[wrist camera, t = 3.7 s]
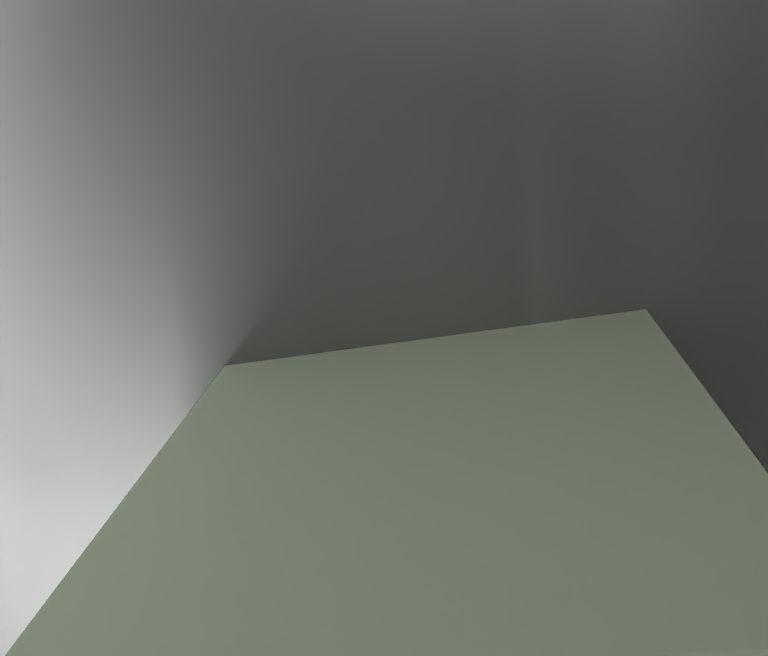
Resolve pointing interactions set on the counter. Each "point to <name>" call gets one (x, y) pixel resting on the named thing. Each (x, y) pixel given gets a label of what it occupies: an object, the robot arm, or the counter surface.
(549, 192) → the counter surface
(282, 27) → the counter surface
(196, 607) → the sage cube
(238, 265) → the counter surface
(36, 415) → the counter surface
